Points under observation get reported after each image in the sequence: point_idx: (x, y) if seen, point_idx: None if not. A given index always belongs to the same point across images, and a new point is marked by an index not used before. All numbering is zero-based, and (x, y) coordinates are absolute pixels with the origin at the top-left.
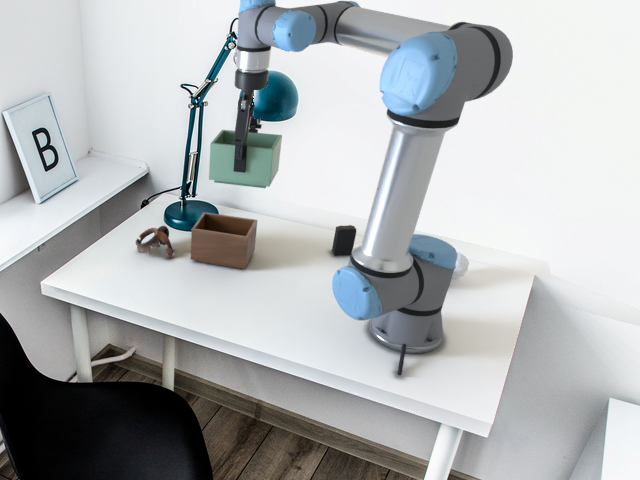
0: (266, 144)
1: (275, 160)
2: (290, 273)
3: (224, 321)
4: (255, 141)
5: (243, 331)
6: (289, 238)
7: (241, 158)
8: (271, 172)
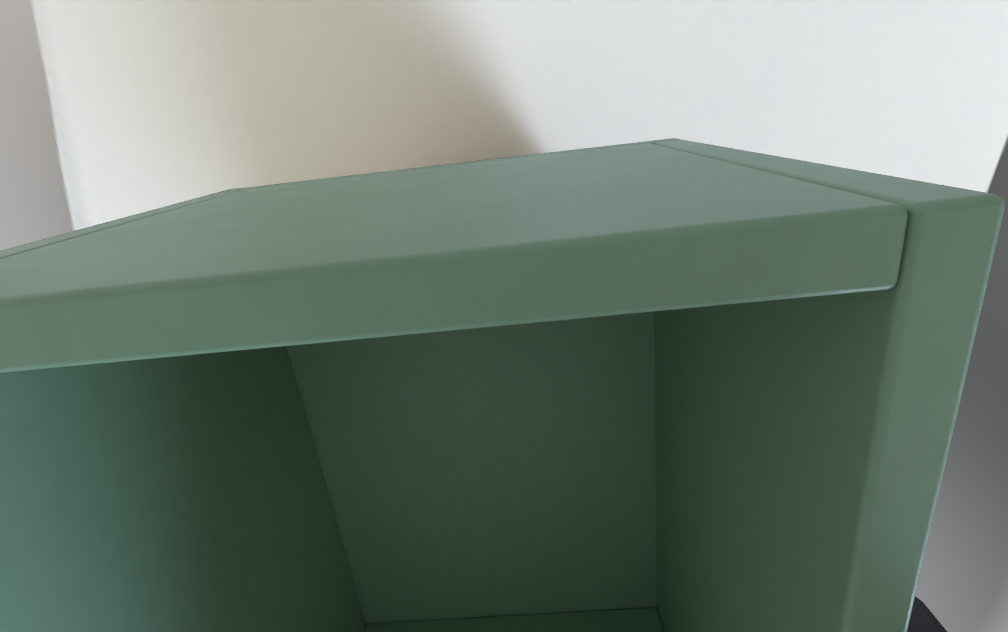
0: (116, 469)
1: (442, 188)
2: (504, 7)
3: (930, 134)
4: (158, 626)
5: (986, 44)
6: (219, 109)
7: (917, 602)
8: (680, 152)
